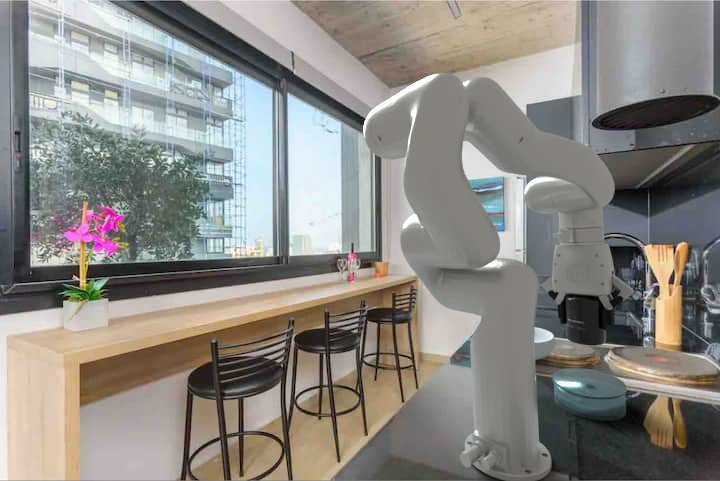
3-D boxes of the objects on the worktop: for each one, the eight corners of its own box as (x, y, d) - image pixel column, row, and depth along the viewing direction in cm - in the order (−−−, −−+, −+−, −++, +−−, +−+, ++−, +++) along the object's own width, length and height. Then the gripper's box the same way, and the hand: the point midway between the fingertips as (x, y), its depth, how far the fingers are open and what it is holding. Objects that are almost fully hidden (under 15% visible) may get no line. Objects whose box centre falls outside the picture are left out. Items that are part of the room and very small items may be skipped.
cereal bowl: (477, 352, 103) (476, 329, 103) (522, 345, 108) (521, 322, 108) (519, 373, 87) (517, 345, 87) (570, 363, 92) (569, 336, 92)
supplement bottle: (567, 344, 69) (564, 283, 68) (565, 334, 75) (562, 279, 75) (609, 347, 65) (606, 284, 65) (603, 337, 71) (601, 279, 71)
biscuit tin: (624, 429, 61) (622, 401, 61) (546, 408, 70) (545, 384, 69) (630, 400, 70) (629, 376, 70) (561, 385, 79) (560, 363, 79)
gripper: (528, 239, 74) (533, 322, 74) (629, 236, 61) (633, 338, 61) (544, 237, 79) (548, 316, 79) (640, 234, 65) (644, 329, 66)
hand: (585, 324), depth 70 cm, fingers closed on supplement bottle, 6 cm apart
